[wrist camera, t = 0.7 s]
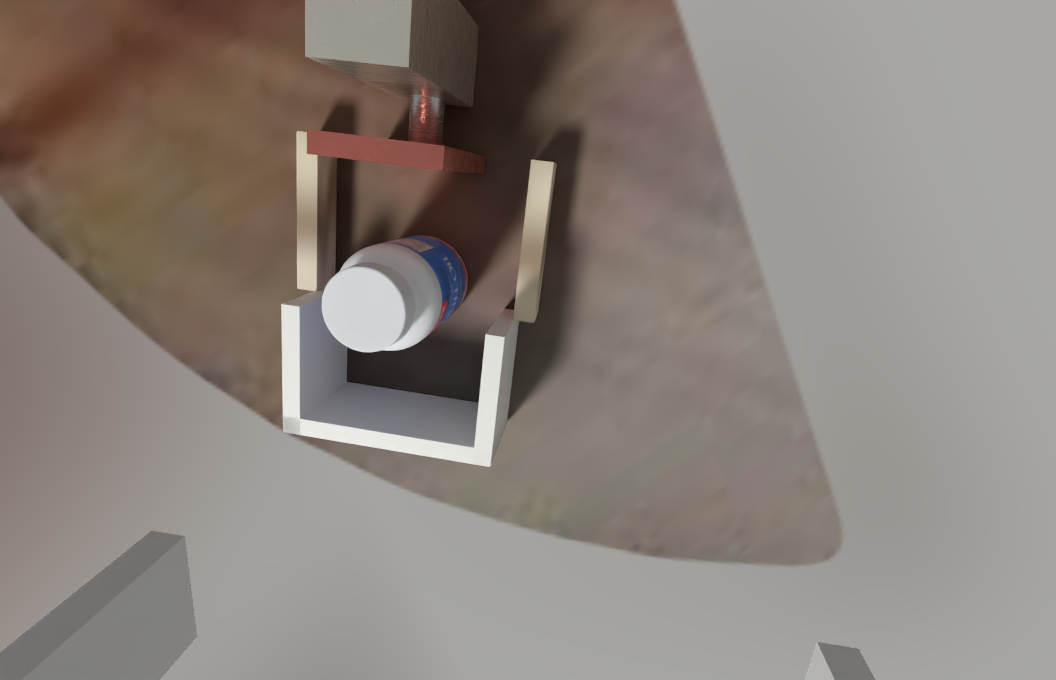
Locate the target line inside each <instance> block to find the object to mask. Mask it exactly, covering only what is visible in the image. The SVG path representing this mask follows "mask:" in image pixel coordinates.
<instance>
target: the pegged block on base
mask: <svg viewBox="0 0 1056 680" xmlns="http://www.w3.org/2000/svg"><path fill="white" fill-rule="evenodd" d="M478 39H479V27H478V25H477V24H476V23H475V21H474V20H473V19H472V17H471V16H470V15H469V13H468V12H467V11H466V9H465V8H464V7H463V5H462V4H461V3H460V1H459V0H305V56H306V57H308V58H310V59H313V60H315V61H317V62H319V63H322V64H324V65H326V66H329V67H331V68H333V69H335V70H338V71H340V72H342V73H345V74H347V75H349V76H351V77H354V78H356V79H358V80H361V81H363V82H365V83H367V84H370V85H372V86H374V87H377V88H379V89H381V90H383V91H386V92H388V93H390V94H392V95H395V96H397V97H399V98H402V99H404V100H410V115H409V135H408V141H401V140H393V139H385V138H376V137H368V136H360V135H351V134H343V133H335V132H327V131H318V130H310V129H307V154H312V155H320V156H328V157H336V158H344V159H352V160H360V161H368V162H377V163H385V164H393V165H401V166H409V167H417V168H425V169H433V170H441V171H452V172H464V173H475V174H485V163H486V156H483V155H479V154H475V153H471V152H467V151H463V150H459V149H455V148H451V147H447V146H443V145H442V137H443V122H444V108H445V104H447V105H456V106H465V107H473V100H474V88H475V76H476V64H477V51H478Z"/></svg>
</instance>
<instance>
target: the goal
mask: <svg viewBox="0 0 1056 680" xmlns="http://www.w3.org/2000/svg"><path fill="white" fill-rule="evenodd" d="M324 289H325V288H324ZM324 289H322V290H319V291H314V292H311V293H309V294H306V295H304V296H301V297H298V298H296V299H293V300H291V301H288V302H285V303H283V304H281V309H282V383H283V432H286V433H292V434H298V435H304V436H310V437H315V438H321V439H327V440H333V441H339V442H345V443H351V444H357V445H363V446H369V447H375V448H381V449H387V450H393V451H398V452H404V453H410V454H416V455H422V456H428V457H434V458H440V459H446V460H452V461H458V462H464V463H470V464H476V465H481V466H487V467H491V464H492V461H493V458H494V456H495V453H496V450H497V448H498V445H499V442H500V440H501V437H502V434H503V432H504V429H505V426H506V424H507V420H508V411H509V403H510V394H511V386H512V377H513V369H514V360H515V352H516V343H517V335H518V326H519V321H516V320H513V316H514V310H510V309H504V310H503V311H502V312H501V314H500V315H499V317H498V318H497V319H496V321H495V322H494V323H493V325H492V326H491V327H490V329H489V330H488V332H487V333H486V334H485V344H484V354H483V364H482V374H481V384H480V394H479V403H477V402H471V401H465V400H459V399H452V398H446V397H440V396H433V395H427V394H421V393H415V392H408V391H402V390H396V389H390V388H383V387H377V386H371V385H364V384H358V383H352V382H347V346H345V345H343V344H342V343H341V342H339V341H338V340H337V339H336V338H335V337H334V336H333V335H332V333H331V332H330V330H329V329H328V327H327V325H326V323H325V321H324V318H323V314H322V296H323V292H324Z"/></svg>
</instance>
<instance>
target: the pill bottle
mask: <svg viewBox="0 0 1056 680" xmlns="http://www.w3.org/2000/svg"><path fill="white" fill-rule="evenodd" d="M467 284H468V277H467V271H466V268H465V265H464V262H463V260H462V259H461V257H460V255H459V254H458V253H457V252H456V250H455V249H454V248H453V247H451V246H450V245H449V244H447V243H446V242H444V241H442V240H440V239H438V238H435V237H432V236H426V235H415V236H409V237H405V238H401V239H397V240H393V241H388V242H384V243H380V244H376V245H372V246H369V247H366V248H363V249H361V250H359V251H357V252H356V253H354V254H353V255H352V256H351V257H350V258H349V259H348V260H347V261H346V262H345V263H344V265H343V266H342V268H341V269H340V271H339V272H338V273H337V274H335V275H334V276H333V277H332V278H331V279H330V281H329V282H328V283H327V285H326V287H325V289H324V292H323V296H322V314H323V318H324V321H325V323H326V325H327V327H328V329H329V330H330V332H331V333H332V335H333V336H334V337H335V338H336V339H337V340H338V341H339V342H341V343H342V344H343V345H345V346H347V347H349V348H351V349H353V350H356V351H360V352H377V351H381V350H385V351H397V350H402V349H406V348H409V347H411V346H413V345H415V344H417V343H418V342H420V341H421V340H423V339H424V338H425V337H427V336H428V335H429V334H430V333H431V332H432V331H433V330H435V329H436V328H437V327H438V326H439V325H440V324H441V323H443V322H444V321H445V320H446V319H447V318H448V317H450V316H451V315H452V314H453V313H454V312H455V311H456V310H457V309H458V308H459V306H460V305H461V303H462V301H463V299H464V297H465V294H466V291H467Z"/></svg>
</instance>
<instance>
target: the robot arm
mask: <svg viewBox="0 0 1056 680" xmlns="http://www.w3.org/2000/svg"><path fill="white" fill-rule="evenodd" d="M196 637H197V631H196V624H195V615H194V607H193V599H192V591H191V583H190V575H189V567H188V559H187V551H186V543H185V536H180V535H174V534H168V533H162V532H155V531H151V532H150V533H148V534H147V535H146V536H145V537H143V538H142V539H141V540H140V541H138V542H137V543H136V544H135V545H133V546H132V547H131V548H130V549H129V550H127V551H126V552H125V553H124V554H122V555H121V556H120V557H119V558H117V559H116V560H115V561H114V562H112V563H111V564H110V565H109V566H107V567H106V568H105V569H104V570H102V571H101V572H100V573H99V574H97V575H96V576H95V577H94V578H93V579H91V580H90V581H89V582H87V583H86V584H85V585H84V586H82V587H81V588H80V589H79V590H77V591H76V592H75V593H74V594H72V595H71V596H70V597H69V598H68V599H66V600H65V601H64V602H63V603H61V604H60V605H59V606H58V607H56V608H55V609H54V610H53V611H51V612H50V613H49V614H48V615H46V616H45V617H44V618H43V619H42V620H40V621H39V622H38V623H36V624H35V625H34V626H33V627H31V628H30V629H29V630H28V631H26V632H25V633H24V634H23V635H22V636H20V637H19V638H18V639H17V640H16V641H14V642H13V643H12V644H10V645H9V646H8V647H7V648H5V649H4V650H3V651H2V652H0V680H160V679H161V678H162V676H163V675H164V674H165V673H166V671H168V669H169V668H170V667H171V666H172V665H173V664H174V662H175V661H176V660H177V659H178V658H179V657H180V655H181V654H182V653H183V652H184V651H185V650H186V649H187V647H188V646H189V645H190V644H191V643H192V642H193V640H194V639H195V638H196ZM805 680H875V679H874V677H873V675H872V673H871V671H870V669H869V667H868V666H867V664H866V662H865V660H864V658H863V656H862V654H861V653H860V651H859V649H856V648H850V647H843V646H838V645H831V644H826V643H820V642H817V644H816V647H815V650H814V653H813V656H812V659H811V663H810V665H809V668H808V671H807V675H806V678H805Z"/></svg>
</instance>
